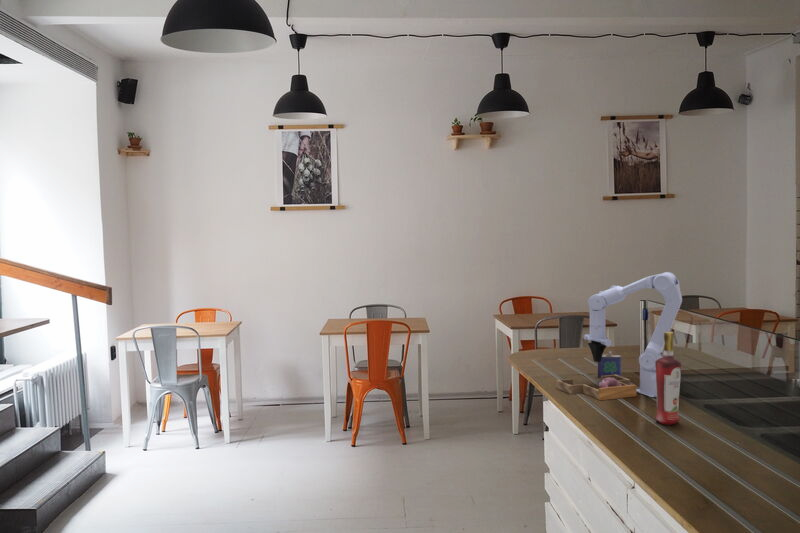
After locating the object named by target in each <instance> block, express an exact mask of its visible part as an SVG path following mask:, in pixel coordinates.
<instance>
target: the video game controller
mask: <svg viewBox="0 0 800 533" xmlns="http://www.w3.org/2000/svg"><path fill="white" fill-rule="evenodd" d="M598 385H599V386H598V387H599V388H606V387H616V386H622V385H621V384H620V383H619V382H618V381H617V380H616V379H615V378H614V377H613V378H610V377H608V378H605V379H603V380H602V381H601V380H600V381H599V383H598Z"/></svg>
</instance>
